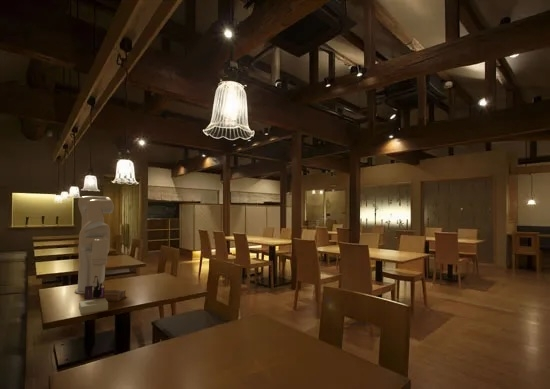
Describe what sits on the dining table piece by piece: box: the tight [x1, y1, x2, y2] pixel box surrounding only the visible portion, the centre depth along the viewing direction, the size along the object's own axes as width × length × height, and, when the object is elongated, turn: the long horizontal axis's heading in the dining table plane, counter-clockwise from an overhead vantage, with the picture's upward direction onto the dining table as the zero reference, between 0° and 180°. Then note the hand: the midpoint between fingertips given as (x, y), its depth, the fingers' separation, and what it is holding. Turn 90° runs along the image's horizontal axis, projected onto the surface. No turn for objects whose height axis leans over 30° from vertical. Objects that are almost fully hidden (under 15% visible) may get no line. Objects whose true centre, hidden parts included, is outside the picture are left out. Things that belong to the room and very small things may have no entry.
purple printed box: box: [84, 284, 106, 301], centre depth 166 cm, size 7×5×9 cm
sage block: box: [78, 298, 109, 315], centre depth 161 cm, size 10×12×4 cm
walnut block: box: [95, 289, 126, 302], centre depth 180 cm, size 10×12×4 cm
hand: (97, 295), depth 166 cm, fingers closed on purple printed box, 4 cm apart
